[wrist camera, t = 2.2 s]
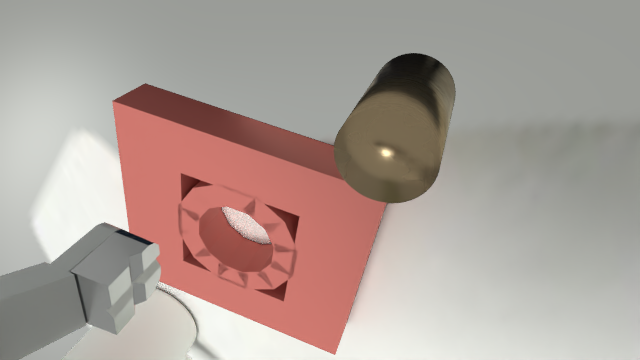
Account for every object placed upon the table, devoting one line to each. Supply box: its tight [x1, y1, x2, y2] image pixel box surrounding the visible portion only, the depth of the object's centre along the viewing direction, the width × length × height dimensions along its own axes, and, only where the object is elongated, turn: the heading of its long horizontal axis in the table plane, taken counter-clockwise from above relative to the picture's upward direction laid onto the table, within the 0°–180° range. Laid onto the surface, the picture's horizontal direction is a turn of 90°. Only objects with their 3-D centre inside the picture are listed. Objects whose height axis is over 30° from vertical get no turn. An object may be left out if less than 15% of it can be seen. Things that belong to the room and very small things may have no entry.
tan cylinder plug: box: [334, 53, 455, 203], centre depth 20 cm, size 4×4×7 cm
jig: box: [113, 84, 387, 355], centre depth 30 cm, size 17×15×3 cm
